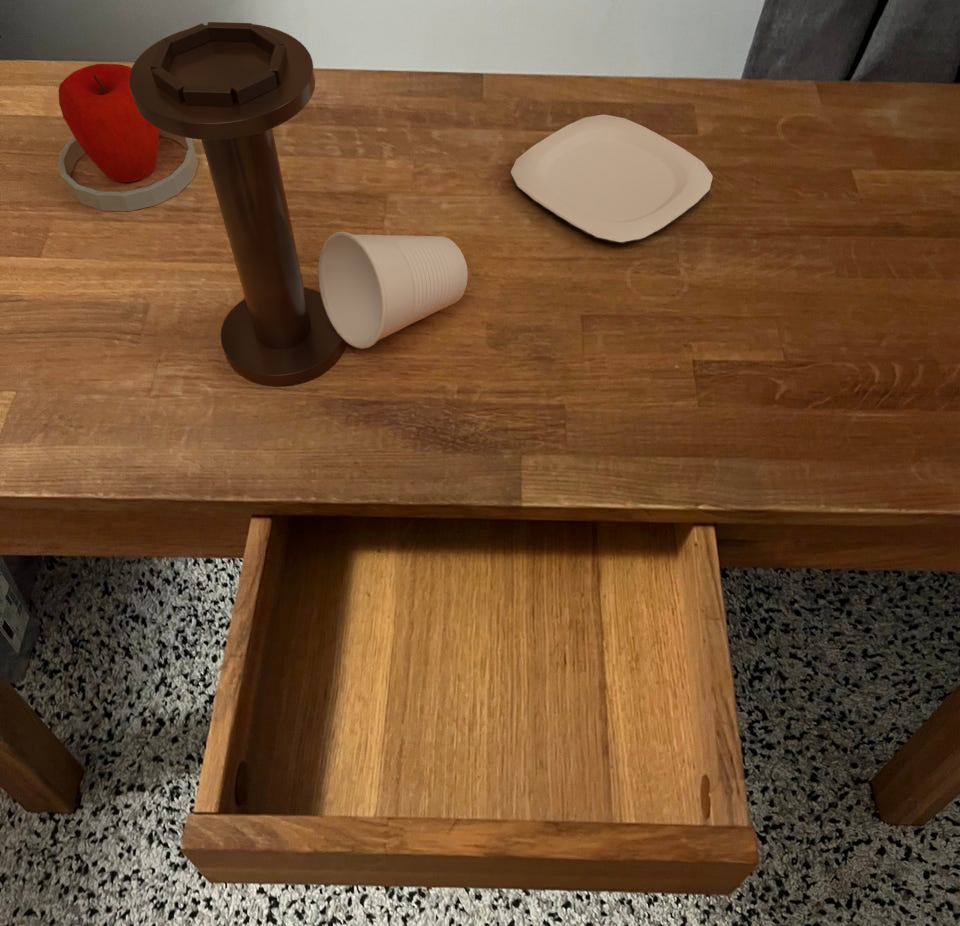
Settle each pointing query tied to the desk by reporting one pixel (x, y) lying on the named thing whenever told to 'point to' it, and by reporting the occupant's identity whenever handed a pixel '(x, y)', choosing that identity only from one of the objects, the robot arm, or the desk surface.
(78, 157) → the grey faceted ring
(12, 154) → the desk surface
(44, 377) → the desk surface
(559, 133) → the plate
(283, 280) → the holder
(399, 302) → the cup
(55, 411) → the desk surface
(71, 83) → the apple
